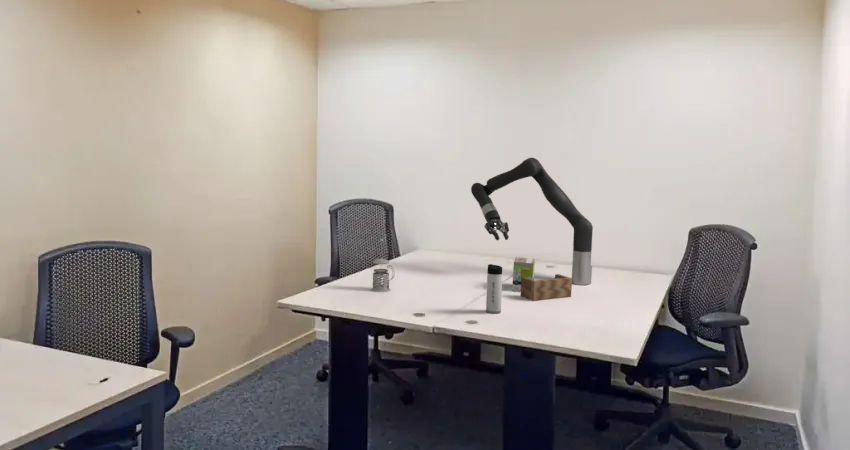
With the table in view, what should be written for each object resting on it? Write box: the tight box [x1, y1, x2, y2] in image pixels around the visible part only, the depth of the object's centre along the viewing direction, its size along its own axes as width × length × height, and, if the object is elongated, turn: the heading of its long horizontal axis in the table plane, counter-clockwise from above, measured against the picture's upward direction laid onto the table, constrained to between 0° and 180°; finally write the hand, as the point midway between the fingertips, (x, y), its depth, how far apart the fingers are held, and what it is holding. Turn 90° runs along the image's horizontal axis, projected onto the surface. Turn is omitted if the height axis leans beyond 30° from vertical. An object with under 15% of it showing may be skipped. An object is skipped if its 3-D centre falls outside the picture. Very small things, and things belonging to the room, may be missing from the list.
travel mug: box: [485, 263, 503, 315], centre depth 269 cm, size 6×7×20 cm
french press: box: [370, 238, 395, 293], centre depth 305 cm, size 10×12×25 cm
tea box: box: [511, 256, 536, 293], centre depth 316 cm, size 15×10×15 cm, turn 168°
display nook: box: [520, 273, 573, 302], centre depth 300 cm, size 22×10×9 cm, turn 118°
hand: (502, 239), depth 331 cm, fingers open, 5 cm apart
